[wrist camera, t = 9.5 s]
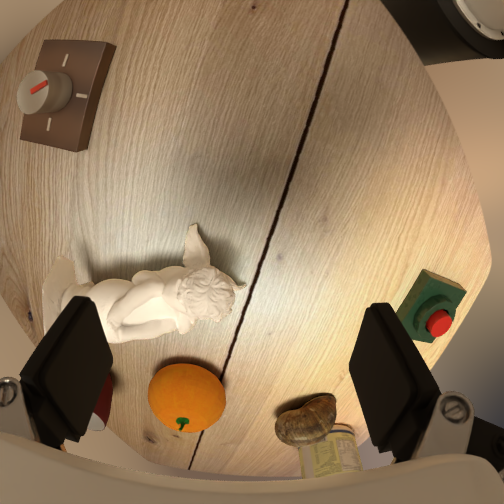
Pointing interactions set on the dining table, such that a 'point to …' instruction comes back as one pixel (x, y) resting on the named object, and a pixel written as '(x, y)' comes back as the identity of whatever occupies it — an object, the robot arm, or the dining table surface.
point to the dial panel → (82, 98)
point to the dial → (44, 92)
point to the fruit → (186, 397)
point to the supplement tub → (331, 455)
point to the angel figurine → (147, 295)
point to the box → (428, 303)
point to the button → (439, 323)
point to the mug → (102, 407)
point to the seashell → (307, 422)
